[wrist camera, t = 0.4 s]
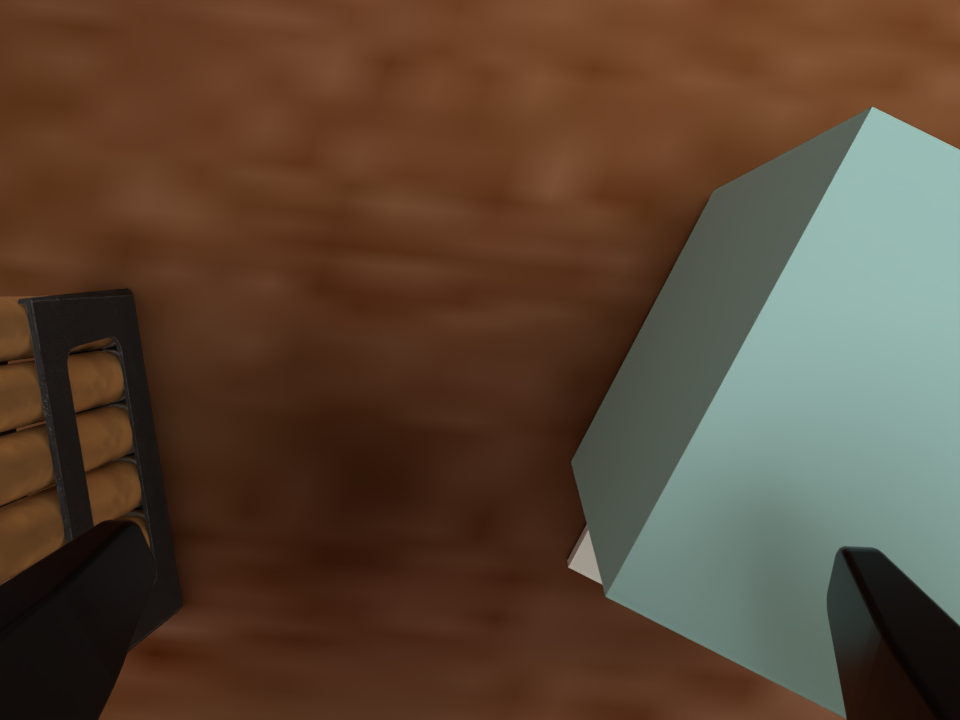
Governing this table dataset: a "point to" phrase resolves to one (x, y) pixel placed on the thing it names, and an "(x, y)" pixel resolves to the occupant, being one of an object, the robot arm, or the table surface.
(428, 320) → the table surface
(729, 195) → the housing
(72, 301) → the ammunition clip
